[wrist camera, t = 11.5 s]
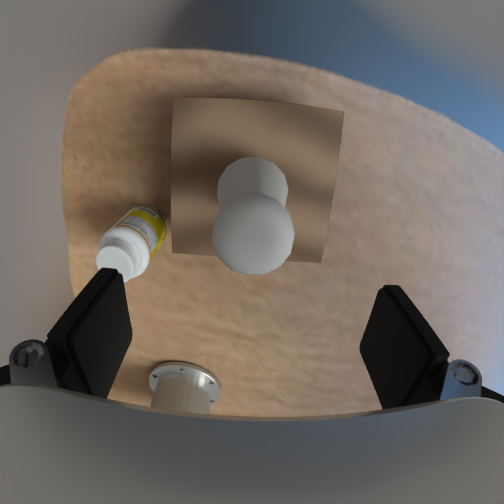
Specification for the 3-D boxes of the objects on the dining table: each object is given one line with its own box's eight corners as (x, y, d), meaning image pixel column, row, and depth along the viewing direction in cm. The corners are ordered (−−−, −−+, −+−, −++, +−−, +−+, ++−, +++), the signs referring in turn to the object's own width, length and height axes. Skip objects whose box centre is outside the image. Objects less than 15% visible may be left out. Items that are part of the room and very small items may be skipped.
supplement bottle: (135, 250, 36) (103, 295, 26) (119, 210, 33) (79, 246, 24) (174, 240, 35) (150, 285, 26) (159, 197, 33) (126, 230, 24)
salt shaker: (278, 219, 28) (296, 301, 16) (216, 210, 27) (191, 287, 16) (289, 158, 25) (324, 197, 13) (225, 148, 25) (200, 178, 13)
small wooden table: (310, 239, 35) (320, 262, 30) (184, 230, 34) (172, 252, 29) (327, 112, 28) (344, 111, 23) (187, 101, 28) (173, 98, 23)
